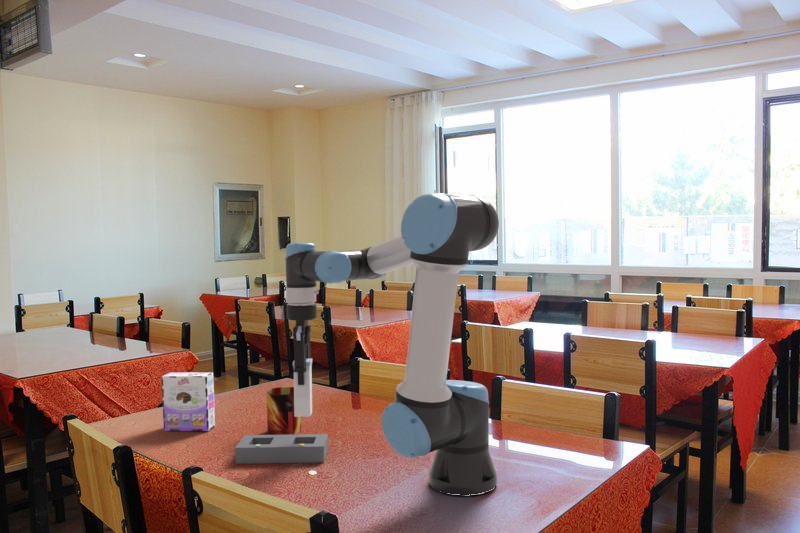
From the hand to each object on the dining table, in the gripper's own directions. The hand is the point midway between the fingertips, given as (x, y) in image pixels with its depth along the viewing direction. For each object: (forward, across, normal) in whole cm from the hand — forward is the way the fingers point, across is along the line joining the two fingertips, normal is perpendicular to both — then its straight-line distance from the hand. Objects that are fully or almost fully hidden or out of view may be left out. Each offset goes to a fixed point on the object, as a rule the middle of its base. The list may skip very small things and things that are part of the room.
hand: (303, 394), depth 163 cm
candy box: (+16, +25, +37) cm, 48 cm away
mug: (+16, +19, +7) cm, 26 cm away
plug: (+5, 0, 0) cm, 5 cm away
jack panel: (+16, 0, +5) cm, 17 cm away
